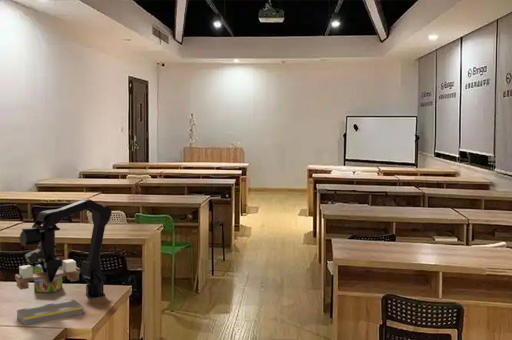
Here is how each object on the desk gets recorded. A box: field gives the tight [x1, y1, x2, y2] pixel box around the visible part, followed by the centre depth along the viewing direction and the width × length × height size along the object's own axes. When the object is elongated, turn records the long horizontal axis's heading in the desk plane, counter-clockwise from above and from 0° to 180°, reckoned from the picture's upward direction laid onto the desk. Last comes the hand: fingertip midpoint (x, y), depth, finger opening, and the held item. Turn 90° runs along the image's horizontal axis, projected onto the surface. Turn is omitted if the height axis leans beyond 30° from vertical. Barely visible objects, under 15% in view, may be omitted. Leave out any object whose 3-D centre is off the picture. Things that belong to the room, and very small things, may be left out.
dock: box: [16, 299, 84, 326], centre depth 215 cm, size 22×10×3 cm, turn 128°
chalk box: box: [32, 264, 63, 294], centre depth 248 cm, size 9×9×15 cm
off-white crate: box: [62, 258, 77, 272], centre depth 229 cm, size 4×5×4 cm
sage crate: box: [18, 264, 34, 279], centre depth 219 cm, size 4×5×4 cm
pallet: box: [14, 266, 81, 290], centre depth 224 cm, size 24×6×5 cm, turn 127°
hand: (48, 280), depth 224 cm, fingers closed on pallet, 6 cm apart
